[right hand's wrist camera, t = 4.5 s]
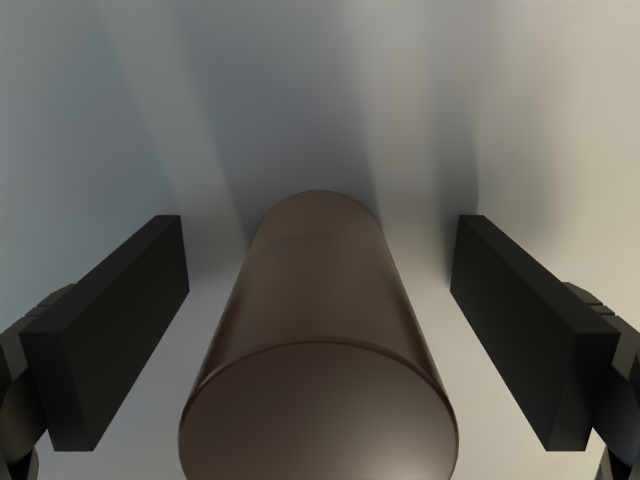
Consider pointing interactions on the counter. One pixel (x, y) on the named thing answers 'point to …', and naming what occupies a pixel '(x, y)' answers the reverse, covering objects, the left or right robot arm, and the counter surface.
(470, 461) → the counter surface
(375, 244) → the walnut peg
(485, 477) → the counter surface
